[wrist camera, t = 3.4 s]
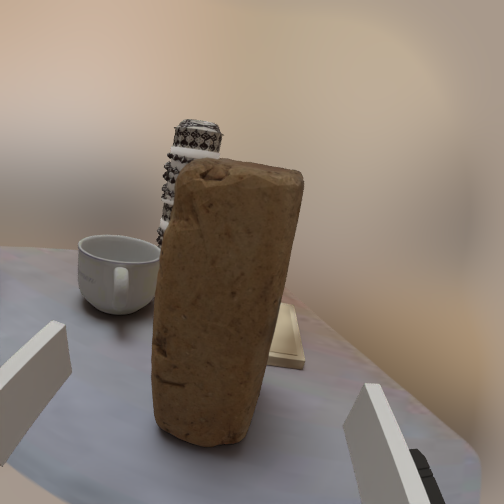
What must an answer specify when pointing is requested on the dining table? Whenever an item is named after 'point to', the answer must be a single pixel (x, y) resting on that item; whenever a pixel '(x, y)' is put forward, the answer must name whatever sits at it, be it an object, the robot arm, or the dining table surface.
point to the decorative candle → (186, 158)
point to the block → (220, 295)
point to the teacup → (117, 272)
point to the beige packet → (286, 340)
